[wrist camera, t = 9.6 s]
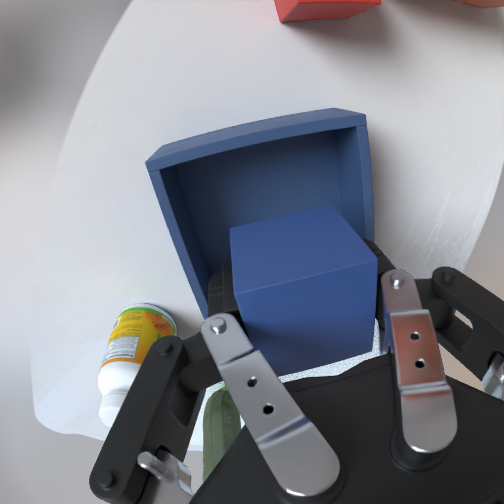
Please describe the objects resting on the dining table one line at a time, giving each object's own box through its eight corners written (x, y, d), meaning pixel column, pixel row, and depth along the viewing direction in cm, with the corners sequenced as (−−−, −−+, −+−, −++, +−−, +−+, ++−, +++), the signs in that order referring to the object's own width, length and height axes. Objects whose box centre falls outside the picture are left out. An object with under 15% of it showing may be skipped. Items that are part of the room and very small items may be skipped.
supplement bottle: (186, 341, 26) (180, 439, 17) (133, 350, 26) (115, 440, 18) (163, 295, 23) (144, 400, 15) (107, 307, 23) (73, 402, 15)
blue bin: (161, 145, 18) (144, 162, 14) (335, 107, 17) (365, 114, 13) (209, 288, 23) (208, 329, 19) (350, 255, 23) (373, 289, 19)
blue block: (229, 227, 13) (233, 293, 9) (332, 204, 13) (378, 258, 9) (252, 307, 15) (263, 380, 11) (339, 286, 15) (372, 351, 11)
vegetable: (193, 382, 29) (195, 571, 12) (226, 366, 28) (242, 572, 11) (220, 399, 31) (232, 570, 14) (252, 385, 30) (277, 568, 13)
